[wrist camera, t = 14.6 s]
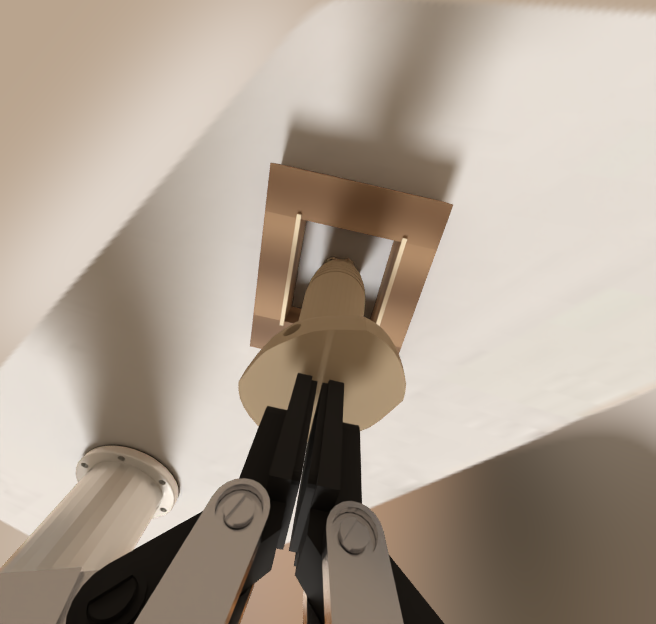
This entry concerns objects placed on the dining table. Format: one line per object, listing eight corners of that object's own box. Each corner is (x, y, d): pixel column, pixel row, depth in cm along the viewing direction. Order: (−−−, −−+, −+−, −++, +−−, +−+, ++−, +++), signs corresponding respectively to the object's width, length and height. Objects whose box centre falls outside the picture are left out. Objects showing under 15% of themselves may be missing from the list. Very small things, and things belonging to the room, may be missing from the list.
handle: (291, 264, 25) (215, 371, 11) (362, 229, 23) (371, 304, 10) (318, 312, 27) (280, 456, 13) (386, 282, 25) (424, 411, 11)
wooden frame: (386, 357, 28) (390, 378, 25) (260, 329, 28) (249, 347, 25) (441, 201, 22) (454, 205, 19) (281, 164, 22) (269, 162, 19)
